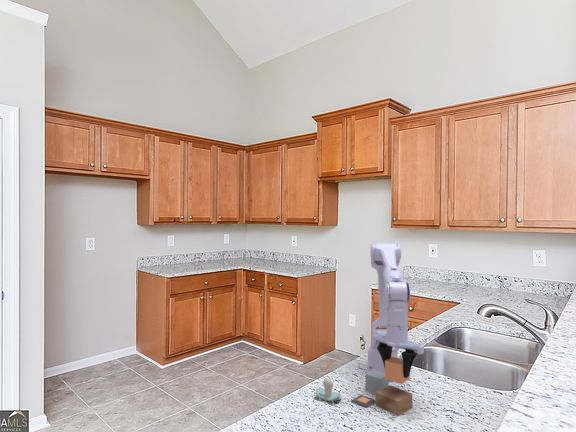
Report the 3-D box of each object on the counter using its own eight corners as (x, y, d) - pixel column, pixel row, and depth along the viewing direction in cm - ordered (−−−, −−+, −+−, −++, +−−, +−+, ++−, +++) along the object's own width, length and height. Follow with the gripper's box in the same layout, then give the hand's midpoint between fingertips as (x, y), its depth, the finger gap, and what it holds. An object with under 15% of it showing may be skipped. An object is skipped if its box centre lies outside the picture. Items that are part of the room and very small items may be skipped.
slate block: (365, 391, 109) (365, 374, 109) (374, 386, 112) (374, 369, 112) (380, 396, 105) (380, 379, 105) (388, 391, 109) (388, 374, 109)
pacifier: (322, 392, 108) (313, 399, 103) (323, 371, 108) (313, 377, 103) (345, 398, 104) (337, 406, 99) (345, 376, 104) (337, 383, 99)
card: (351, 401, 101) (351, 399, 101) (361, 396, 105) (361, 394, 105) (366, 408, 98) (366, 405, 98) (376, 401, 102) (376, 399, 102)
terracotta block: (384, 378, 100) (384, 360, 101) (393, 373, 104) (393, 356, 104) (401, 384, 97) (401, 365, 97) (409, 378, 101) (409, 360, 101)
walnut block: (375, 406, 99) (375, 392, 99) (390, 399, 104) (390, 385, 104) (398, 417, 94) (398, 401, 94) (412, 408, 99) (412, 393, 99)
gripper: (366, 322, 103) (366, 370, 103) (415, 332, 93) (416, 386, 93) (379, 318, 108) (379, 363, 108) (426, 327, 98) (427, 378, 98)
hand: (397, 373), depth 100 cm, fingers closed on terracotta block, 5 cm apart
